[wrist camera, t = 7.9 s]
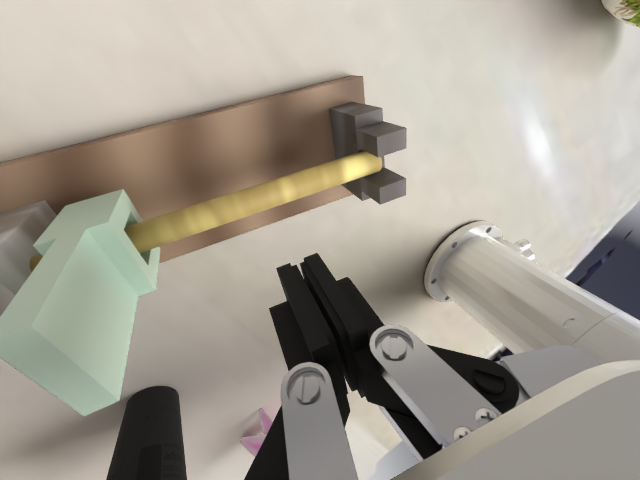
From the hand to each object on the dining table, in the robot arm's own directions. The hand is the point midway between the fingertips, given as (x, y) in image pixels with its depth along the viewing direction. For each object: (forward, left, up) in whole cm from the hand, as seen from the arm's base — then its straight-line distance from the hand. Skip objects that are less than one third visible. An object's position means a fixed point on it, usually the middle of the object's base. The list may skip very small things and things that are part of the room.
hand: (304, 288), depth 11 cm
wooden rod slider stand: (+3, -1, -14) cm, 15 cm away
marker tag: (+8, -1, -10) cm, 13 cm away
